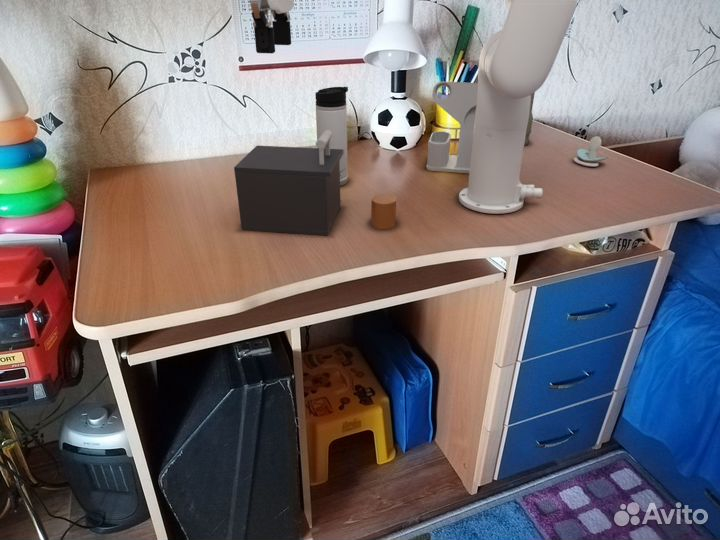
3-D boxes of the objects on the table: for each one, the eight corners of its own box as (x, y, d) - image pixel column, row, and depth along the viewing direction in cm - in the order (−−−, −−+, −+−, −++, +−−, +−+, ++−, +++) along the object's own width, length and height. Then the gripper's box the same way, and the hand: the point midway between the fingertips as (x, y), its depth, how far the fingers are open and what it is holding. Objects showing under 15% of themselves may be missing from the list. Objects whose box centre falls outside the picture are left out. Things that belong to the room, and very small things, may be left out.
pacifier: (591, 170, 124) (609, 165, 126) (596, 144, 121) (615, 139, 123) (566, 161, 129) (584, 156, 132) (571, 135, 126) (589, 131, 129)
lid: (343, 153, 100) (343, 125, 97) (330, 176, 89) (329, 146, 87) (257, 149, 102) (254, 121, 99) (234, 171, 92) (230, 141, 89)
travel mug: (345, 188, 114) (344, 91, 104) (315, 186, 115) (311, 89, 105) (352, 178, 119) (351, 84, 109) (323, 176, 121) (319, 83, 111)
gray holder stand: (424, 169, 124) (428, 88, 115) (429, 156, 133) (434, 79, 123) (501, 176, 120) (512, 92, 111) (502, 161, 129) (512, 83, 120)
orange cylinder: (396, 220, 101) (397, 195, 98) (394, 230, 97) (394, 204, 94) (372, 218, 101) (373, 193, 99) (369, 228, 97) (369, 203, 95)
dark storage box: (340, 207, 105) (339, 153, 100) (327, 235, 95) (325, 176, 89) (262, 203, 108) (257, 149, 102) (241, 230, 97) (234, 172, 92)
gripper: (271, -67, 79) (280, 57, 88) (302, -64, 94) (307, 42, 103) (223, -67, 80) (236, 56, 89) (261, -63, 95) (269, 41, 104)
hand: (274, 48), depth 96 cm, fingers open, 9 cm apart
